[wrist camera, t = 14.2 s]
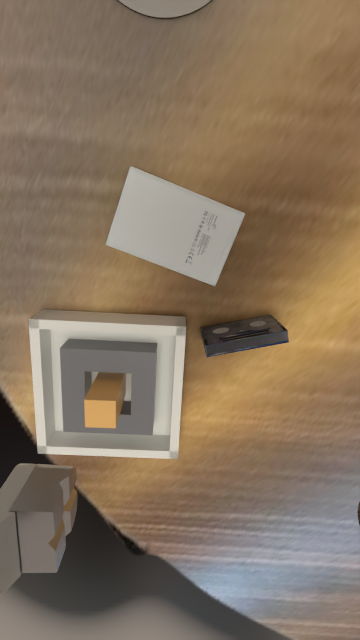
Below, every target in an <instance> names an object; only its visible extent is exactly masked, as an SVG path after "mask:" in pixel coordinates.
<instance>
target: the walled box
mask: <svg viewBox="0 0 360 640" xmlns="http://www.w3.org/2000/svg"><path fill="white" fill-rule="evenodd" d="M29 333H30V347H31V361H32V376H33V390H34V405H35V419H36V434H37V448H38V454H63V455H89V456H114V457H140V458H165V459H178V446H179V431H180V416H181V401H182V385H183V370H184V355H185V339H186V320H185V317H183V316H163V315H144V314H125V313H105V312H86V311H67V310H47V309H43V310H42V311H40V312H39V313H37V314H35V315H34V316H32V317H31V318H29ZM98 372H108V373H126V395H125V399H124V402H123V405H122V409H121V412H120V416H119V419H118V423H117V426H116V428H92V427H85V409H84V399H85V397H86V395H87V394H88V392H89V390H90V388H91V386H92V384H93V382H94V380H95V378H96V376H97V374H98Z"/></svg>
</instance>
